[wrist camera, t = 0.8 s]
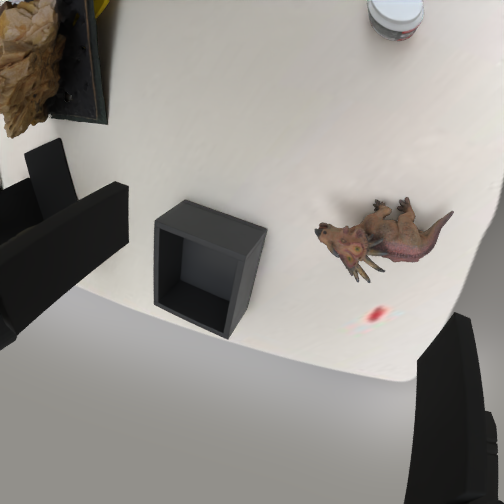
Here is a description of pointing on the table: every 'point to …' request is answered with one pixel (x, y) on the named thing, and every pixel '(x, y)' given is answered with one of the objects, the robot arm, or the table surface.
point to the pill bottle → (395, 17)
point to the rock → (49, 63)
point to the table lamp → (35, 200)
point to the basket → (205, 265)
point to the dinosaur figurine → (380, 238)
